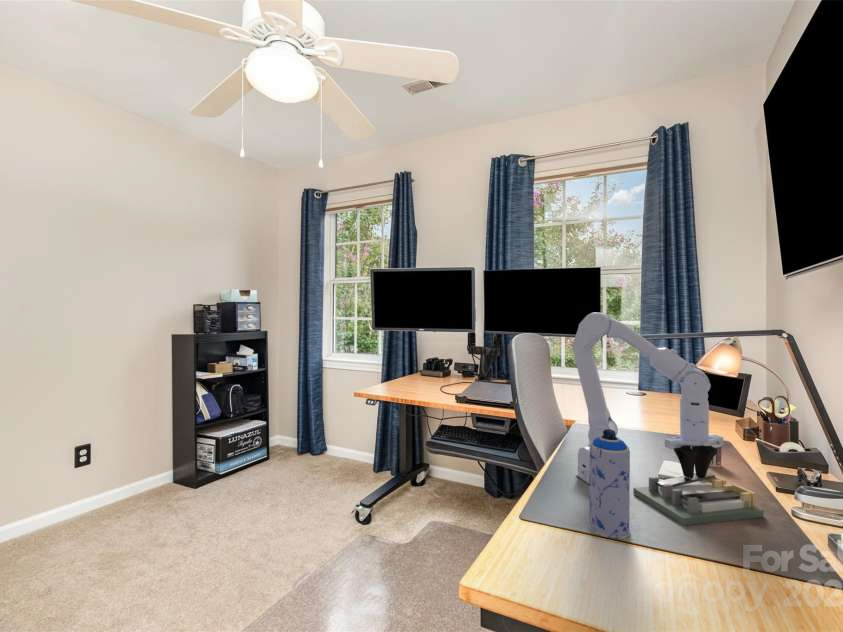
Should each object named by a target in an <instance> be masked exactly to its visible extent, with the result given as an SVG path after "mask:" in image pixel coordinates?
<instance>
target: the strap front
mask: <svg viewBox="0 0 843 632" xmlns="http://www.w3.org/2000/svg"><path fill="white" fill-rule="evenodd" d="M692 497H696V498H698V499H699V502H705V501H717V500H730V499H740V494H739V493H737V492H735V491H721V492H708V493H695V494H683V495H680V498H682V499H684V500H686V501H688V498H692Z"/></svg>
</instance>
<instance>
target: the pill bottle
mask: <svg viewBox="0 0 843 632" xmlns="http://www.w3.org/2000/svg"><path fill="white" fill-rule="evenodd" d="M709 435H714V434H713V433H709ZM722 446H723V445H718V444H717V445H712V447H714V448H717V453H716V455H715V456H714V457H713V459H712V460H711V462H710V465H709V467H711V468H720V467H722Z"/></svg>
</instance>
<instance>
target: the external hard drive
mask: <svg viewBox="0 0 843 632" xmlns="http://www.w3.org/2000/svg"><path fill="white" fill-rule="evenodd" d="M661 464H662V465H661V467H660V469H659V472H658V474H657V477H658V478H660V477H663V478H662V479H664V478H667V479H671V478H675V477H680V476H684V475H683V471H682V467H681V464H680V462H676V461H670V460H663V461H662V463H661ZM694 473H696V472H695V465H694Z"/></svg>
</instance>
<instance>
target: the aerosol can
mask: <svg viewBox="0 0 843 632" xmlns="http://www.w3.org/2000/svg"><path fill="white" fill-rule="evenodd" d="M630 456H631V451H630V448H629V446H628V445H627V444H626V443H625V442H624V441H623V440H622V439H620V438H619V437H618V436H617V435H616V433H615V431H613V430H610V429H606V430H604V431H603V435H601V436H600V437H597V438H595V439H594V441H592V442H591V444H590V461H589V484H588V485H589V487H588V490H589V492H588V495H589V496H588V499H589V500H588V521H587V525H588V528H589V529H590V530H591V531H592V533H595V534H596V535H598V536H601V537H603V538H608V539H614V540H622V539H626V538H628V537H629V536H631V528H630V497H631V496H630V493H631V492H630V490H631V489H630V488H631V487H630V486H631V484H630V483H631V479H630V478H631V476H630V475H631V473H630V472H631V469H630V467H631V457H630Z"/></svg>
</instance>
